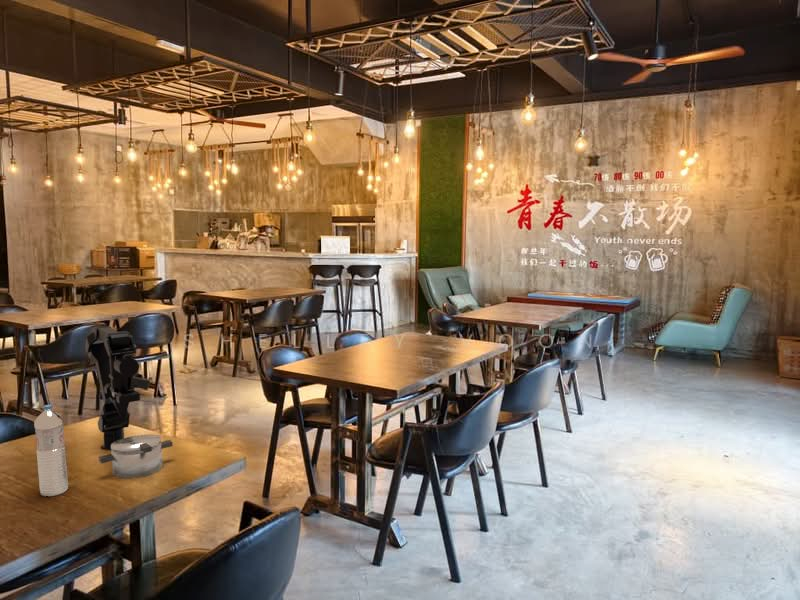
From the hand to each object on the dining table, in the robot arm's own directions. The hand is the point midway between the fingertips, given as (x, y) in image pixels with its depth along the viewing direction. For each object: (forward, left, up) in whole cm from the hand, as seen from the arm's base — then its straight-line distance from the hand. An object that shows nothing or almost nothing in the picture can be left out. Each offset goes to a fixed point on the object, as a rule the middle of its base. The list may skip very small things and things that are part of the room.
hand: (123, 418), depth 184 cm
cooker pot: (+9, +10, -13) cm, 18 cm away
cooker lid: (+10, +11, -5) cm, 16 cm away
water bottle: (+26, -5, -13) cm, 30 cm away
